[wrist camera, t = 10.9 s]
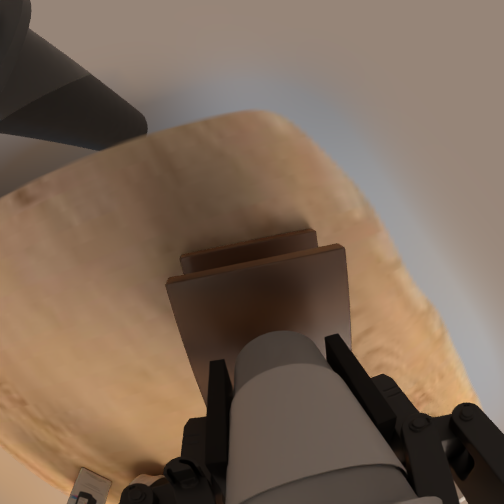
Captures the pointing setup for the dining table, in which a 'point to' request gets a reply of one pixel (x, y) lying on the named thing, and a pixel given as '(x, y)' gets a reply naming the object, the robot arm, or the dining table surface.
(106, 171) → the dining table surface
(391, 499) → the cup
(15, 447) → the dining table surface
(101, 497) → the ink box
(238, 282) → the stand
